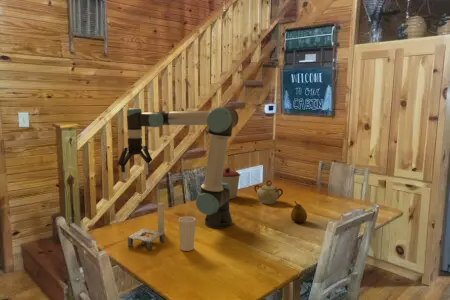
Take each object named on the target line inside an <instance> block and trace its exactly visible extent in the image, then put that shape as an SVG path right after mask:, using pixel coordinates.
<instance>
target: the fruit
mask: <svg viewBox="0 0 450 300" xmlns="http://www.w3.org/2000/svg"><path fill="white" fill-rule="evenodd" d="M294 203H295V205H294V207H292V209H291V212H290V219H291V220H292V221H293V222H294V223H295V224H303V223H305V222H306V221H307V218H308V213H307V211H306V210H305V208H304V207H303V205H301V204H300V203H297V202H296V201H295V200H294Z"/></svg>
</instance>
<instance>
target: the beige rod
mask: <svg viewBox="0 0 450 300" xmlns="http://www.w3.org/2000/svg"><path fill="white" fill-rule="evenodd" d="M157 231H160V232H164V233H165V203H164V202H159V203H157Z"/></svg>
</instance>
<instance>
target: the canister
mask: <svg viewBox="0 0 450 300" xmlns="http://www.w3.org/2000/svg"><path fill="white" fill-rule="evenodd" d="M240 177H241V174H240V173H239V171H235V170H231V169H230V167H224V169H223V175H222V182H223V183H228V184H229V185H230V200H234V199H235V198H237V196H238V189H239V183H240Z"/></svg>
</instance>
